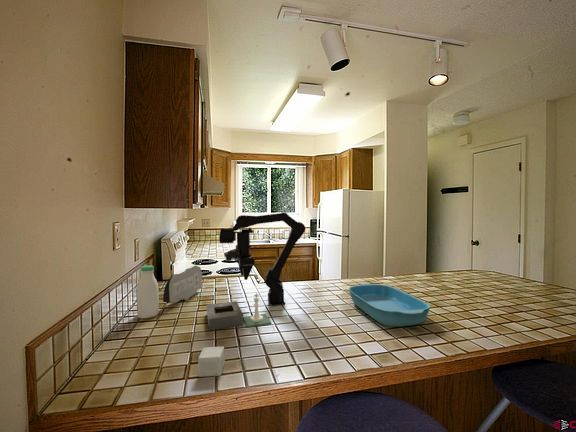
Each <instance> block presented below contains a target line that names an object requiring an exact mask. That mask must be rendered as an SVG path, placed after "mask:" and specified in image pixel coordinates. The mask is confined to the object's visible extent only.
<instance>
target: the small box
mask: <svg viewBox="0 0 576 432" xmlns="http://www.w3.org/2000/svg"><path fill="white" fill-rule="evenodd" d="M197 360H198V363H197V364H198V378H200V377H201V378H203V377H221V375H222V373H223V370H224V367H225V365H226V361H225V360H226V359H225V346H208V347H207V346H206V347H203V348H202V349H201V352H200V354H199V356H198V359H197Z"/></svg>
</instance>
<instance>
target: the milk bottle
mask: <svg viewBox="0 0 576 432" xmlns="http://www.w3.org/2000/svg"><path fill="white" fill-rule="evenodd" d="M154 270H155V266H154V265H149V264H148V265H143V266H141V267H140V272H141V275H140V279H139V281H138V283H137V288H136V289H137V290H136V303H137V305H136V307H137V309H136V310H137V312H136V313H137V318H139V319H149V318H154V317H155V316H158V315H159V312H160V306H159V305H160V304H159V303H160V301H159V284H158V281H157V279H156V277H155V274H154Z"/></svg>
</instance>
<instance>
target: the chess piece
mask: <svg viewBox="0 0 576 432" xmlns="http://www.w3.org/2000/svg"><path fill="white" fill-rule="evenodd" d="M253 296H254V297H253V301H254V303H253V306H254V314H253V315H254V316H253V315H251V316H252V317H251V318H250V320H251V321H252V322H260V321H262V320H263V316H261V315H260V312H259V306H260V304H259V300H260V297H259V296H260V295H259V294H258V293H257V292H255V294H253Z"/></svg>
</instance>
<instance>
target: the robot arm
mask: <svg viewBox="0 0 576 432" xmlns="http://www.w3.org/2000/svg"><path fill="white" fill-rule="evenodd" d="M278 222H283V223H285V224H286V225H287V226H289V227H290V231H289V235H288V238H287V241H286V242H285V245H284V246H283V248H282V251H281V252H280V254H279V256H278V258H277V259H276V262H275V263H274V265H273V266H272V267H270V266H269V267H268V270H267V272H266V273H265V276H264V279H265V280H264V282H265V285H266V287H267V288H268V292H267V302H268V303H269V305H270V306H279V305H285V304H286V302H285V293H284V292H285V289H284V285H283V282H282V281H281V279H280V278H281V275H282V271H283V268H284V266H285V265H286V263H287V261H288V259H289V256H290V254H291V252H292V251H293V249H294V247H295V245H296V243H297V242H298V241H299V240H300V238H301V237H302V236H303V235H304V233H305V232H306V226H305V224H304V223H302V222H300V221H297V220H295V219H293V218H292V217H291V216H290V215H289V214H288V213H287V212H284V211H283V212H280V213H271V214H265V215H264V214H261V215H247V214H246V215H245V214H242V215H239V216H238V217H237V218H236V220H235V224H234V226H232V228H224V227H223V228H222V227H221V228H220V232H219V236H218V237H219V239H218V240H219V244H234V242H236V245H235V248H233V249H231V250H228V251H226V252H224V257H225V260H226V262H229V261H231V260H233V259H234V262H236V263H237V264H238V269H239V272H240V276H243V278H244V280H245V281H247V280H248V278H249V275H250V274H251V272H252V270H253V267H254V266H255V261H256V260H255V258H253V257H252V254H251V247H252V245H251V242H250V241H251V235H250V234H253V233H254V232H255V231H254V230H253V228H251V227H252V226H255V225H259V224H269V223H270V224H271V223H278ZM239 230H241V231H239Z"/></svg>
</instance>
